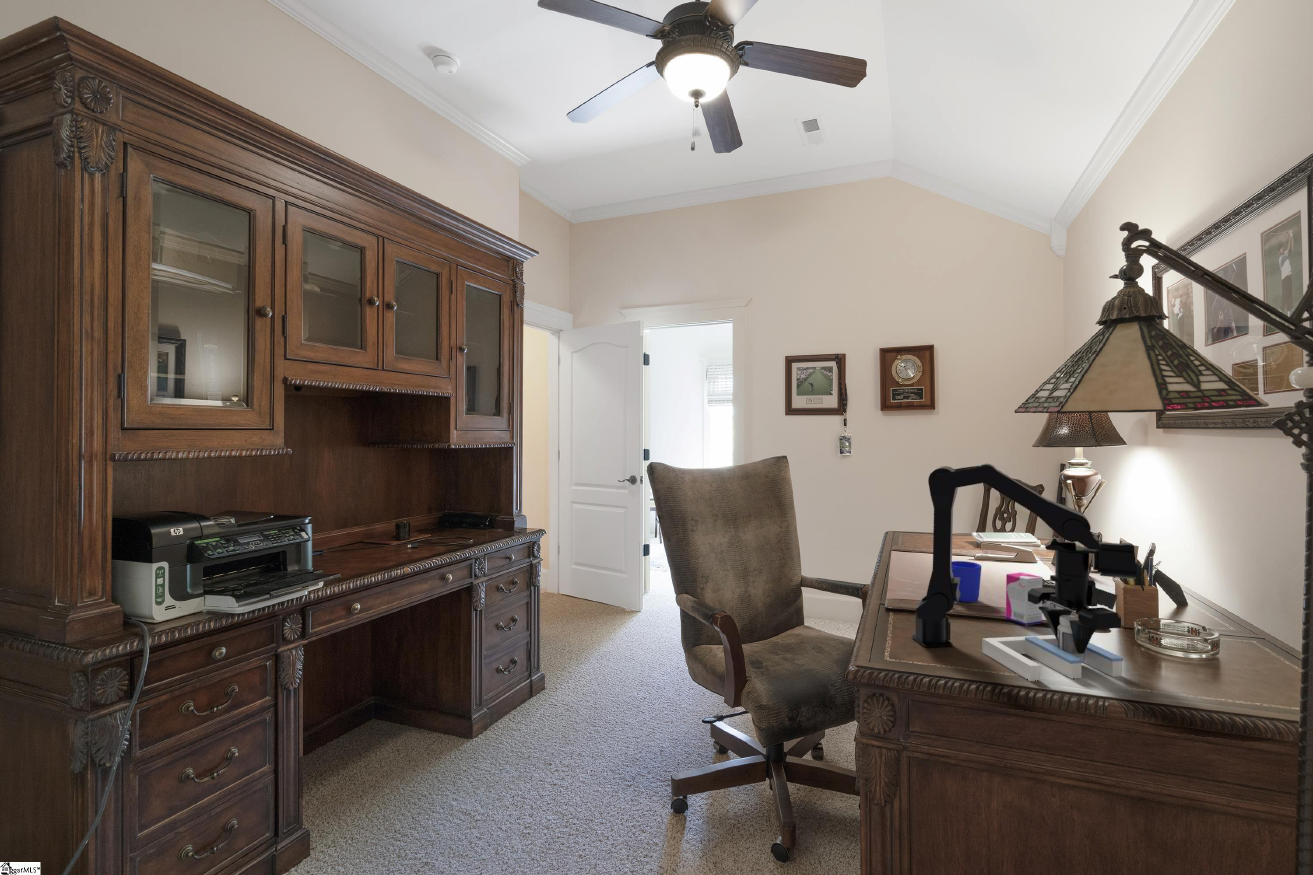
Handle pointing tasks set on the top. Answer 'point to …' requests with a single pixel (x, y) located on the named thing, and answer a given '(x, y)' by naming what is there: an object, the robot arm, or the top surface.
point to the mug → (967, 579)
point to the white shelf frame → (1047, 656)
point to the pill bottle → (1067, 637)
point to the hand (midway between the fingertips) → (1071, 648)
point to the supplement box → (1022, 598)
